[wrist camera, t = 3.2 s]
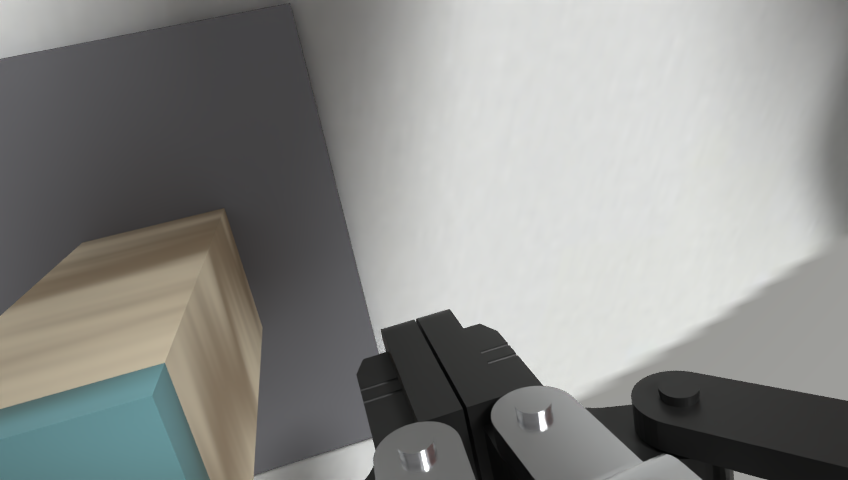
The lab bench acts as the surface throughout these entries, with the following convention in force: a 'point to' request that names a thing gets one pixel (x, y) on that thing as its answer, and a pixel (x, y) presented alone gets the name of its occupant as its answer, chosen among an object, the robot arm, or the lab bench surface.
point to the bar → (134, 361)
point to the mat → (198, 194)
